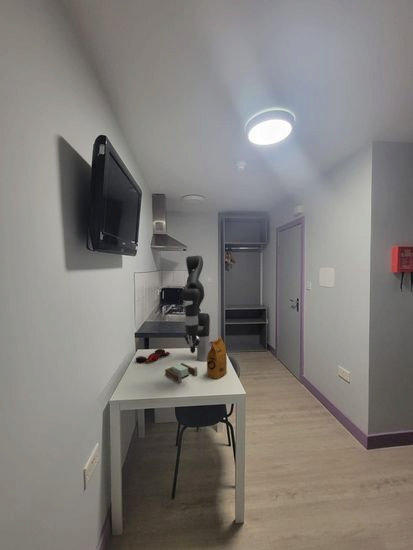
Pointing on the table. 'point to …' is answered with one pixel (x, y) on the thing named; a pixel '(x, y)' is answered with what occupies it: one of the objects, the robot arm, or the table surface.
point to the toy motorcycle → (152, 356)
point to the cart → (180, 370)
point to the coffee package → (217, 359)
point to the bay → (179, 377)
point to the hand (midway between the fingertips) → (192, 352)
